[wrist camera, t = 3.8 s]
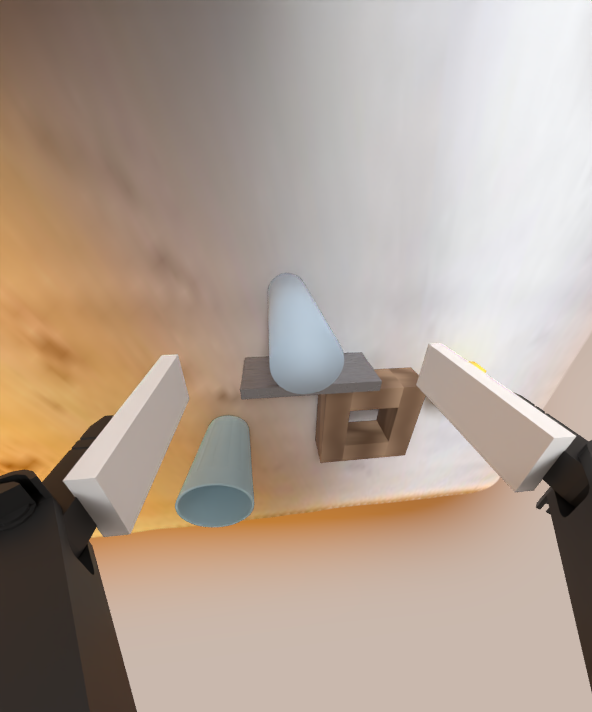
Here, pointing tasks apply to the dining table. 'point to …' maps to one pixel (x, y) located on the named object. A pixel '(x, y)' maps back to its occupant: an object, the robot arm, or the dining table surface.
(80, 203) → the dining table surface
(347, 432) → the socket block
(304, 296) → the peg
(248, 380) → the rail
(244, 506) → the cup
